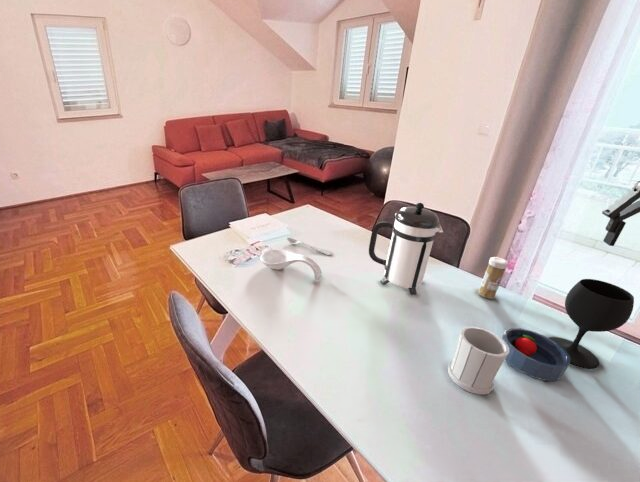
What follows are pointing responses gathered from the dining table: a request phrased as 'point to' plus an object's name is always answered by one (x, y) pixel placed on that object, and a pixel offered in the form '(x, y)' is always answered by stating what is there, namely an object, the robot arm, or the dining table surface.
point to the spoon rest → (288, 261)
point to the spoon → (307, 245)
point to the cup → (477, 360)
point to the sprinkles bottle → (492, 277)
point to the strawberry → (526, 345)
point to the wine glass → (594, 316)
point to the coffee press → (407, 246)
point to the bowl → (537, 356)
